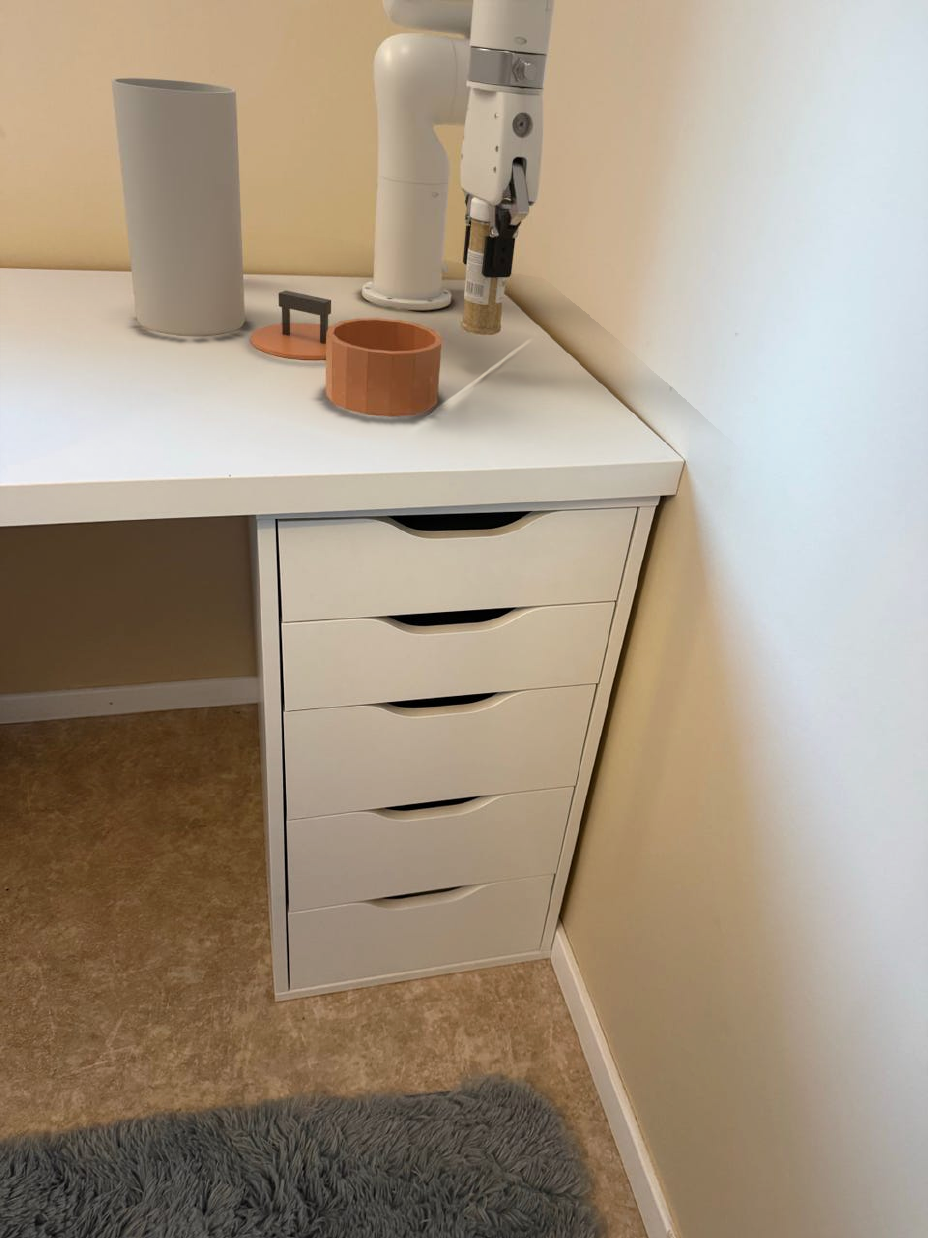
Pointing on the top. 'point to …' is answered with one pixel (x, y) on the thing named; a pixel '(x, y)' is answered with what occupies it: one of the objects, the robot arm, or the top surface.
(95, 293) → the top surface
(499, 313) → the sprinkles bottle
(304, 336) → the lid
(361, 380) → the pot
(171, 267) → the cylinder vase
